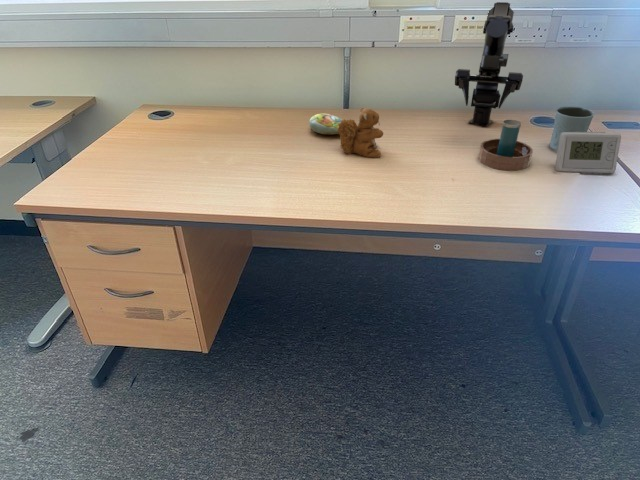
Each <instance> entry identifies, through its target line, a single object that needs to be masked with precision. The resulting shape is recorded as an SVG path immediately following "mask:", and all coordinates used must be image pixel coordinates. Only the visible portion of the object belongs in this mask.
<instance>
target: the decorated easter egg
mask: <svg viewBox="0 0 640 480" xmlns="http://www.w3.org/2000/svg"><path fill="white" fill-rule="evenodd" d="M342 120H343V119H341V118H340V117H338V116H336V115H333V114H329V113H317V114H315V115H313V116H312V117H311V118H310V119H309V122H308V124H309V128H310V129H311V130H312V131H313V132H315V133H317V134H320V135H327V136H328V135H339V133H338V130H337V129H338V128H339V126H338V124H339V123H341V121H342Z"/></svg>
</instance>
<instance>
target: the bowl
mask: <svg viewBox="0 0 640 480" xmlns="http://www.w3.org/2000/svg"><path fill="white" fill-rule="evenodd" d="M499 141H500V138H490V139H486V140H484V141H483V142H481V144H480V148H479V153H478V161H479V162H480V163H481V164H483V165H484V166H486V167H489V168H492V169H495V170H500V171H512V172H513V171H522V170H524V169H527V168H528V167H529V166H530V164H531V161H532V157H533V153H534V152H533V151H534V149H533V148H532V147H531V146H530V145H528V144H527V143H526V142H523V141H519V140H517V142H516V146H515V151H514V155H513V157H505V156H499V155H497V150H498V145H499Z"/></svg>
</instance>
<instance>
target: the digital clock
mask: <svg viewBox="0 0 640 480" xmlns="http://www.w3.org/2000/svg"><path fill="white" fill-rule="evenodd" d="M621 140H622V134H621V133H618V132H605V131H587V132H563V133H561V134H560V137H559V143H558V150H557V151H556V159H555V164H554V165H555V166H554V169H555V172H560V173H579V175H580V174H581V175H582V174H584V175H601V174H614V173H615V172H616V169H617V163H618V158H619V152H620V146H621Z"/></svg>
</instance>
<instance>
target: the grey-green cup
mask: <svg viewBox="0 0 640 480" xmlns="http://www.w3.org/2000/svg"><path fill="white" fill-rule="evenodd" d="M594 116H595V112H594V111H593V110H591V109H589V108H585V107H583V106H576V105H575V106H573V105H566V106H560V107H558V108H556V110H555V114H554V121H553V126H552V128H553V129H552V133H551V137H550V142H549V147H550V148H551V149H552V150H554V151H556V152H557V150H558V143H559V137H560V134H561V133H563V132H589V131H588V130H589V129H590V128H589V127H590V125H591V124H592V120H593V118H594Z"/></svg>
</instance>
